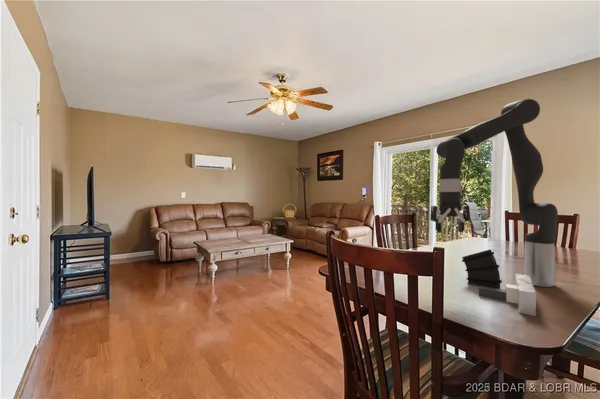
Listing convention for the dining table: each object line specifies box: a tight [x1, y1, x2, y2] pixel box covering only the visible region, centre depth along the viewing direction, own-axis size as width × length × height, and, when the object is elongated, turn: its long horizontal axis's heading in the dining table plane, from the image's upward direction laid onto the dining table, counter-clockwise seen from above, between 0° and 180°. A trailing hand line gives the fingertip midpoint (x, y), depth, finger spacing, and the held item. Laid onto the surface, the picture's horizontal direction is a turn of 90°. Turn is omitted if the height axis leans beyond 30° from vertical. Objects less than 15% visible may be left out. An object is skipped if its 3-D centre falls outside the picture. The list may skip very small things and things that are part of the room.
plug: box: [478, 283, 518, 305], centre depth 98 cm, size 13×4×5 cm, turn 55°
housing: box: [514, 273, 537, 317], centre depth 94 cm, size 4×22×7 cm, turn 144°
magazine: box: [461, 249, 503, 289], centre depth 111 cm, size 4×13×15 cm, turn 33°
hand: (449, 232), depth 109 cm, fingers open, 8 cm apart
